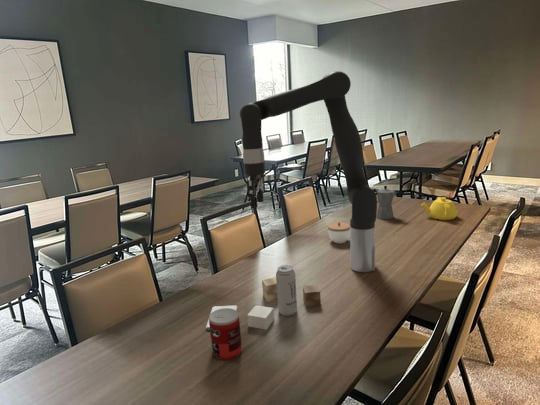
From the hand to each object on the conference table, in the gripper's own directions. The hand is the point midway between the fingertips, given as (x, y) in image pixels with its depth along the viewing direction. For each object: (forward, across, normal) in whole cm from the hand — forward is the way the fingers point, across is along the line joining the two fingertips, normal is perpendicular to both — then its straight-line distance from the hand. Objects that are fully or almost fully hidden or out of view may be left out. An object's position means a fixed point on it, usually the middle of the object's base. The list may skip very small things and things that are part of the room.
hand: (257, 204), depth 140 cm
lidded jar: (+30, +43, -26) cm, 59 cm away
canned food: (+29, -46, -2) cm, 54 cm away
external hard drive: (+30, -30, +6) cm, 43 cm away
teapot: (+30, +85, -77) cm, 118 cm away
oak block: (+29, -15, -7) cm, 33 cm away
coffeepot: (+30, +85, -48) cm, 102 cm away
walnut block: (+30, -16, -21) cm, 40 cm away
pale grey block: (+30, -31, -7) cm, 43 cm away
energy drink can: (+30, -23, -14) cm, 40 cm away
